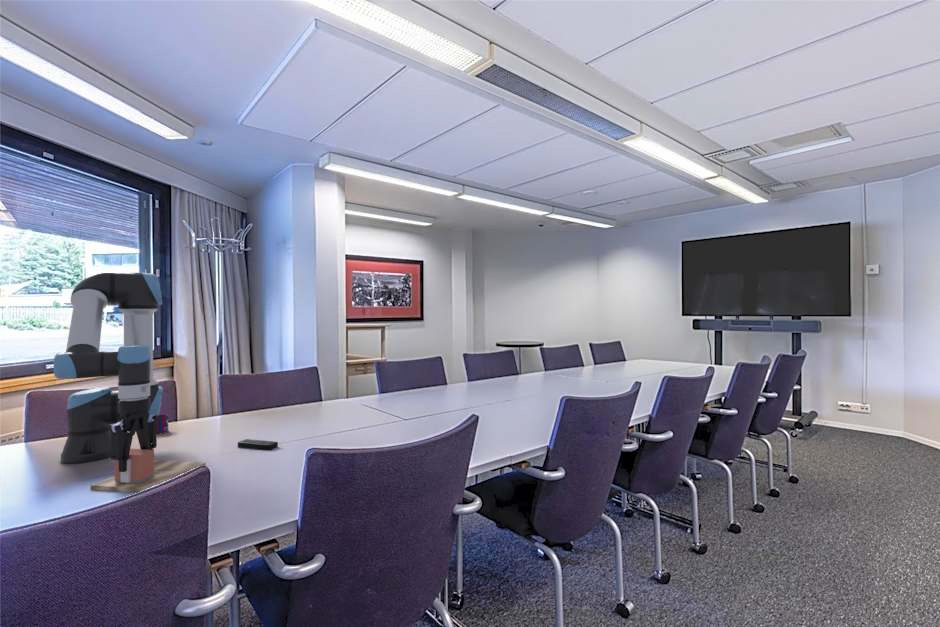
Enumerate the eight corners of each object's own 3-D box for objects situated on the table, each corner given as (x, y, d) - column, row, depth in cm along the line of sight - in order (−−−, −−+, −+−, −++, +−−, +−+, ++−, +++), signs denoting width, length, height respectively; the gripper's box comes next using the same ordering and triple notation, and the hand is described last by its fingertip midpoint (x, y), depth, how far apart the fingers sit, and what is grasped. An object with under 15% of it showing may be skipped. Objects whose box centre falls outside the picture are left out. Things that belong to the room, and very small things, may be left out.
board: (90, 489, 126) (90, 485, 126) (157, 463, 147) (157, 459, 147) (145, 493, 123) (145, 488, 123) (205, 466, 144) (205, 462, 144)
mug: (163, 434, 184) (163, 417, 184) (136, 435, 183) (136, 418, 183) (171, 429, 191) (171, 414, 191) (145, 431, 189) (145, 415, 189)
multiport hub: (269, 451, 161) (269, 445, 161) (237, 448, 165) (237, 442, 165) (278, 447, 165) (278, 441, 165) (246, 445, 169) (246, 438, 169)
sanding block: (115, 481, 128) (114, 454, 128) (131, 475, 133) (130, 448, 133) (138, 483, 126) (138, 455, 126) (154, 477, 131) (154, 449, 131)
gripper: (116, 405, 120) (116, 491, 120) (171, 393, 138) (171, 468, 138) (92, 404, 121) (92, 489, 121) (150, 392, 139) (150, 467, 139)
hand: (134, 478), depth 129 cm, fingers closed on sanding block, 5 cm apart
